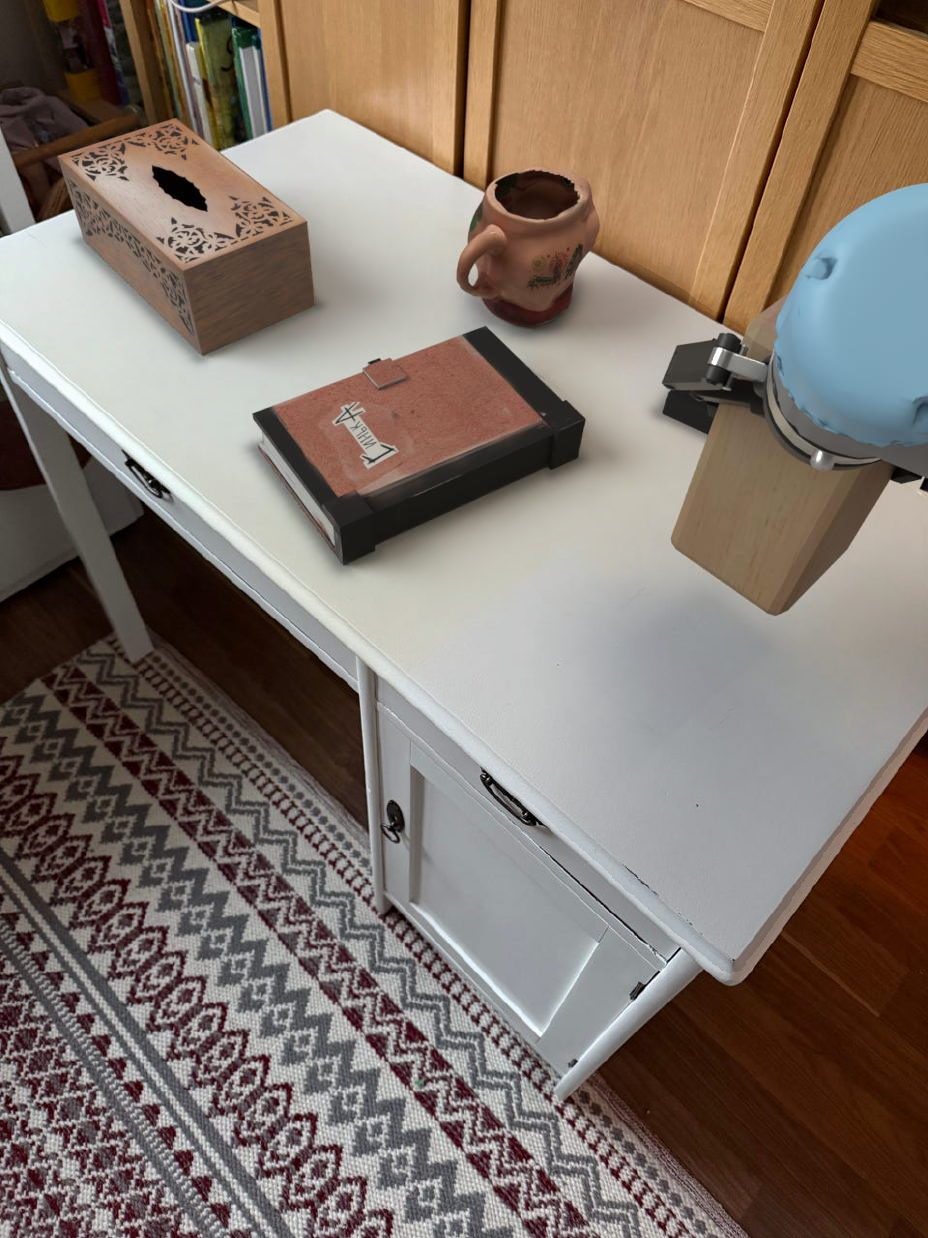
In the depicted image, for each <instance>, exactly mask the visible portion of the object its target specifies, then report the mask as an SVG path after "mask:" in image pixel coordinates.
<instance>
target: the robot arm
mask: <svg viewBox="0 0 928 1238" xmlns="http://www.w3.org/2000/svg"><path fill="white" fill-rule="evenodd" d="M789 292H790V293H789ZM789 292H788V293H789V295H788V297H787V299H786V301H785V303H784V305H783V307H782V309H781V311H780V313H779V315H778V318H777V322H776V325H775V330H776V334H777V338H776V340H775V342H774V349H773V353H772V355H770V356H768V357H766V358H765V359H764V360H763V361H756V360H754V359H751V358H748V357H746V354H747V352H748V349H749V347H748V346H746V345H744V344H741V343H742V339H741V338H740V337H738V336H737V335H736V334H735V333H731V332H727V333H725V332H719V333H718V336H717V338H715V340H712V339H710V340H703V341H696V342H690V343H683V344H676V347H675V349H674V351H673V353H672V356H671V358H670V361H669V364H668V366H667V368H666V371H665V373H664V376H663V379H662V381H661V384H662V386H663V387H665V388H666V389H668V390H669V391H670V390H675V389H676V390H691V392H690V395H691V396H692V397H694V399H696V400H699V401H702V400H705V401H707V404H706V405H707V410H708V416H710V417H713V418H714V417H715V414H716V412H717V409H718V406H719V403H722V404H728V405H734V406H740V407H746V408H750V411H751V413H753V414H755V415H757V416H760V417H762V418H764V419H766V420H767V423H768V426H769V428H770V430H771V432H772V434H773V436H774V437H775V439H776V440H777V441H778V443H779V444H780V445H781V446H782V447H783V448H784V449H785V450H786V451H787V452H788V453H789V454H791V455H792V456H793V457H795V458H796V459H798V460H800V461H802V462H804V463H806V464H808V465H811V466H813V467H814V468H816V469H817V470H818V471H822V472H824V471H828V470H836V471H842V470H853V469H859V468H863V467H866V466H869V465H872V464H874V463H877V462H879V461H882V460H884V461H887V462H889V463H891V464H894V465H896V466H898V467H897V469H896V471H895V472H894V474H893V475H892V477H891V479H890V481H892V482H894V483H897V484H901V485H903V484H908V483H911V482H915V481H920V480H922V479H923V480H922V482H921V484H920V486H919V490H920V491H923V492H925V493H928V182H924V183H918V184H912V185H908V186H903V187H901V188H898V189H897V188H896V189H894V190H892V191H888V192H887V193H884V194H882V195H880V196H878V197H876V198H873V199H871V200H870V201H868V202H866V203H864V204H862V205H861V206H858V208H856V209H855V210H853V211H852V212H850V213H848V214H847V215H846V216H845V217H843V218H842V220H840V221H839V222H838V223H836V225H834V226H833V227H832V228H831V229H830V230H829V231H828V232H827V233H826V234H825V236H824V237H823V238H822V239H821V240H820V241H819V243H818V244H817V245H816V247H815V248H814V249H813V251H812V252H811V254H810V255H809V257H808V258H807V260H806V261H805V262H804V263H803V265H802V266H801V268H800V271H799V273H798V275H797V276H796V279H795V281H794V283H793V285H792V288H791V289H790V291H789Z"/></svg>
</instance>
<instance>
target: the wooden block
mask: <svg viewBox="0 0 928 1238" xmlns="http://www.w3.org/2000/svg"><path fill="white" fill-rule="evenodd" d="M789 293H790V291H789V292H788V293H786V294H785V295H783V296H782V297H781V298H779V299H778V300H776V301H775V302H774V303H773V304H771V305H770V306H769V307H767V308H765V310H763V311H762V312H761V313H759V314H758V315H756V316H755V317H754V318H753V319H752V320H751V321H750V322H748V324H747V327H746V329H745V332H744V335H743V337H742V339H741V344H744V345H746V346H748V347H749V349H748V352H747V354H746V357H748V358H751V359H754V360H756V361H763V360H764V359H765V358H766V357H768V356H770V355H772V353H773V349H774V342H775V340H776V338H777V334H776V330H775V325H776V322H777V318H778V315H779V313H780V311H781V309H782V307H783V305H784V303H785V301H786V299H787V297H788V295H789ZM897 467H898V466H896V465H894V464H891V463H889V462H887V461H884V460H882V461H879V462H877V463H874V464H872V465H869V466H866V467H863V468H859V469H853V470H842V471H836V470H828V471H824V472H822V471H818V470H817V469H816V468H814V467H813V466H811V465H808V464H806V463H804V462H802V461H800V460H798V459H796V458H795V457H793V456H792V455H791V454H789V453H788V452H787V451H786V450H785V449H784V448H783V447H782V446H781V445H780V444H779V443H778V441H777V440H776V439H775V437H774V436H773V434H772V432H771V430H770V428H769V426H768V423H767V420H766V419H764V418H762V417H760V416H757V415H755V414H753V413H751V411H750V408H746V407H740V406H734V405H728V404H722V403H719V406H718V409H717V412H716V414H715V417H714V420H713V423H712V425H711V428H710V431H709V434H707V435H706V439H705V441H704V445H703V447H702V451H701V453H700V456H699V460H698V462H697V464H696V466H695V470H694V473H693V476H692V477H691V480H690V484H689V486H688V489H687V492H686V495H685V497H684V500H683V503H682V505H681V508H680V511H679V514H678V517H677V519H676V522H675V525H674V528H673V529H672V533H671V536H670V543H671V545H672V546H673V547H674V549H675V550H676V551H677V552H679V553H680V554H681V555H683V556H685V557H686V558H688V559H689V560H690V561H692V562H693V563H695V564H696V565H698V566H699V567H700V568H702V569H703V570H704V571H706V572H707V573H709V574H711V575H712V576H713V577H714V578H716V579H717V580H719V581H720V582H722V583H723V584H725V585H726V586H727V587H729V588H730V589H732V590H733V591H734V592H736V593H737V594H739V595H740V596H741V597H742V598H744V599H745V600H747V601H749V603H751V604H753V605H754V606H756V607H757V608H758V609H760V610H762V611H763V612H764V613H766V614H767V615H771V616H774V617H777V616H779V615H781V614H783V613H785V612H788V611H789V610H790V609H791V608H792V607H793V606H794V605H795V604H796V603H797V602H798V601H799V600H800V599H801V598H802V597H803V596H804V595H805V594H806V593H807V591H809V590H810V589H811V587H812V586H813V585H815V583H817V581H819V579H820V578H821V577H822V576H824V575H825V573H826V572H827V571H828V570H829V569H830V568H831V567H832V566H833V565H834V564H835V563H836V562H837V561H838V560H839V559H840V558H841V557H842V556H843V555H844V554H845V553H846V552H847V551H848V549H849V547H850V545H851V544H852V543H853V541H854V539H855V538H856V536H857V534H858V533H859V531H860V530H861V528H862V527H863V525H864V523H865V521H866V520H867V518H868V516H869V515H870V513H871V512H872V510H873V508H874V507H875V506H876V504H877V502H878V501H879V499H880V498H881V496H882V494H883V492H884V490H885V489H886V487H887V486H888V484H889V482H890V481H891V480H890V479H891V477H892V475H893V474H894V472H895V471H896V469H897Z"/></svg>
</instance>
